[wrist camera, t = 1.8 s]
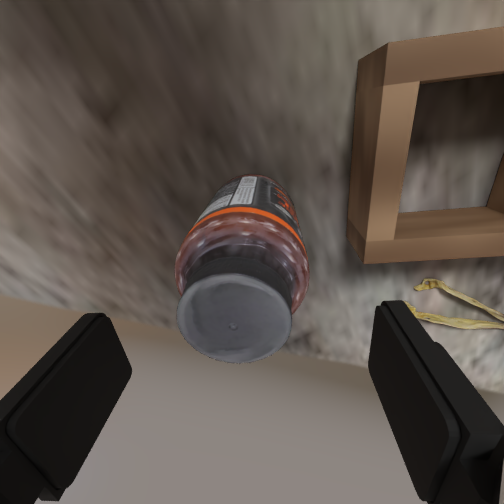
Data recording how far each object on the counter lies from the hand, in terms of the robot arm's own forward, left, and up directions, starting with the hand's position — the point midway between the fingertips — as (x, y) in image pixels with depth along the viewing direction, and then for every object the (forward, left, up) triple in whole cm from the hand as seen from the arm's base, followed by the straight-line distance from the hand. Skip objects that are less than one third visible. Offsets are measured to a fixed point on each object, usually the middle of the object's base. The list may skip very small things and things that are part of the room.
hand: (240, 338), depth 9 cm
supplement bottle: (-1, 0, -11) cm, 11 cm away
